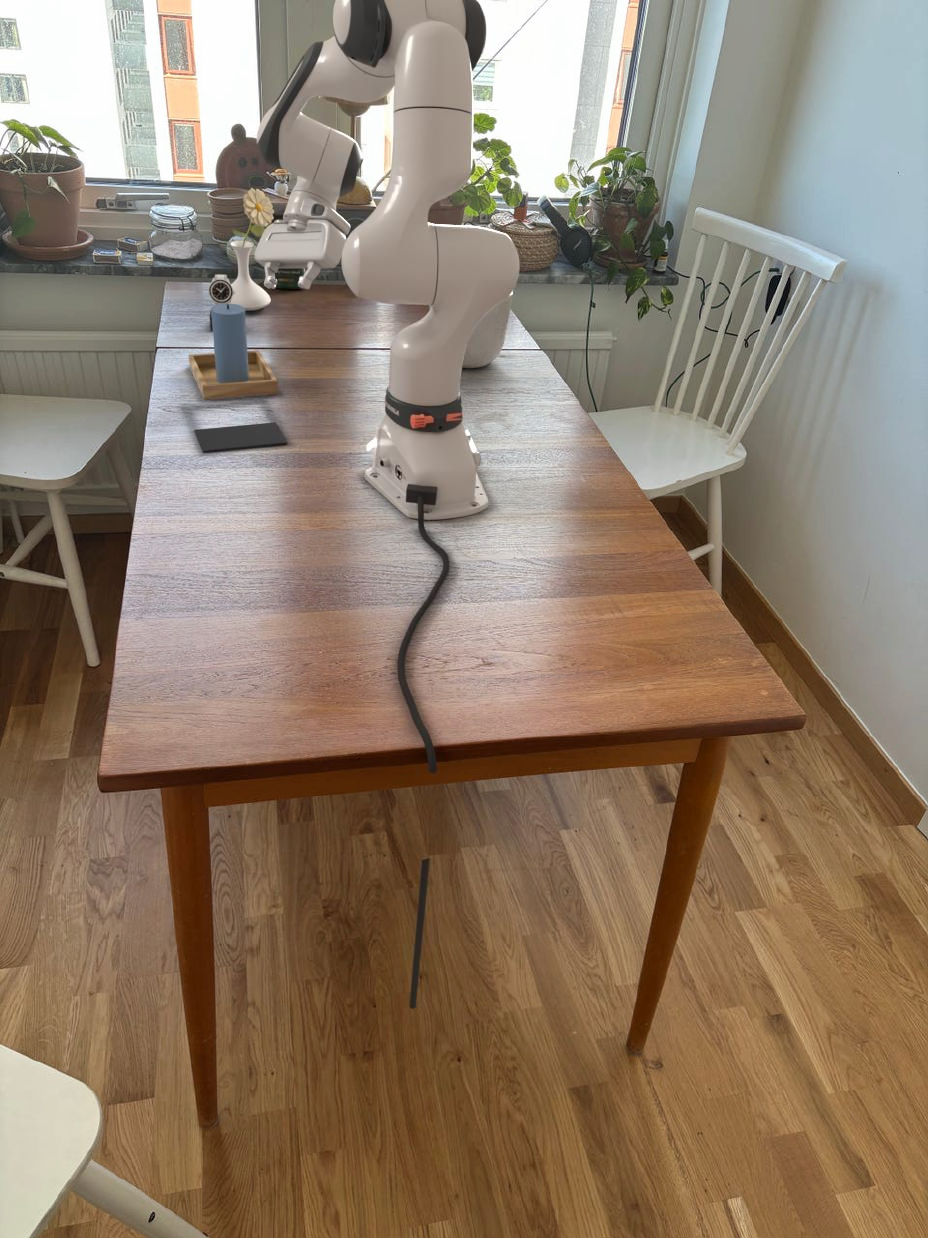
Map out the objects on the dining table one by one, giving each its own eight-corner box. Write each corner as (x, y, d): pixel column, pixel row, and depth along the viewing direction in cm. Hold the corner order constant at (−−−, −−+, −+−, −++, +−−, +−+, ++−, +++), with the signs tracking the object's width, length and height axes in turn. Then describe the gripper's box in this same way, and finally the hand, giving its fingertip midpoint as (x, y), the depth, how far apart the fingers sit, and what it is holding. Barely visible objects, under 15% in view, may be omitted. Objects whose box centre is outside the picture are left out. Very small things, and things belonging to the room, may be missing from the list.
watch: (210, 334, 197) (205, 281, 190) (212, 321, 203) (207, 269, 196) (237, 335, 198) (234, 282, 191) (238, 321, 204) (235, 270, 197)
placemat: (286, 444, 159) (286, 442, 158) (203, 452, 154) (202, 450, 154) (263, 401, 172) (263, 399, 172) (185, 408, 167) (185, 406, 167)
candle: (252, 384, 176) (247, 309, 168) (219, 386, 174) (214, 310, 166) (245, 372, 181) (241, 298, 172) (213, 374, 179) (207, 299, 170)
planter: (441, 340, 205) (446, 269, 196) (515, 355, 201) (523, 284, 192) (412, 365, 192) (416, 290, 183) (490, 382, 188) (498, 307, 179)
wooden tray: (278, 395, 175) (277, 380, 173) (204, 401, 170) (202, 386, 168) (259, 364, 186) (258, 350, 184) (189, 369, 181) (188, 354, 179)
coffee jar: (264, 289, 223) (261, 206, 212) (266, 279, 229) (263, 198, 218) (305, 291, 224) (304, 209, 213) (306, 280, 231) (305, 200, 220)
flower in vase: (231, 317, 206) (223, 196, 191) (212, 301, 213) (203, 183, 198) (285, 311, 212) (282, 193, 197) (265, 295, 219) (260, 181, 205)
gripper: (259, 211, 178) (237, 278, 178) (335, 206, 167) (311, 279, 166) (282, 229, 184) (261, 294, 183) (357, 226, 172) (334, 296, 171)
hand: (285, 287), depth 174 cm, fingers open, 8 cm apart
